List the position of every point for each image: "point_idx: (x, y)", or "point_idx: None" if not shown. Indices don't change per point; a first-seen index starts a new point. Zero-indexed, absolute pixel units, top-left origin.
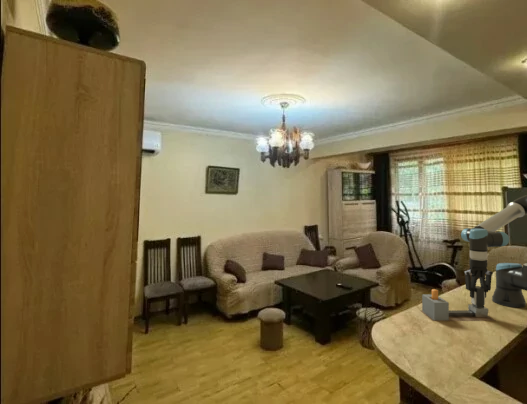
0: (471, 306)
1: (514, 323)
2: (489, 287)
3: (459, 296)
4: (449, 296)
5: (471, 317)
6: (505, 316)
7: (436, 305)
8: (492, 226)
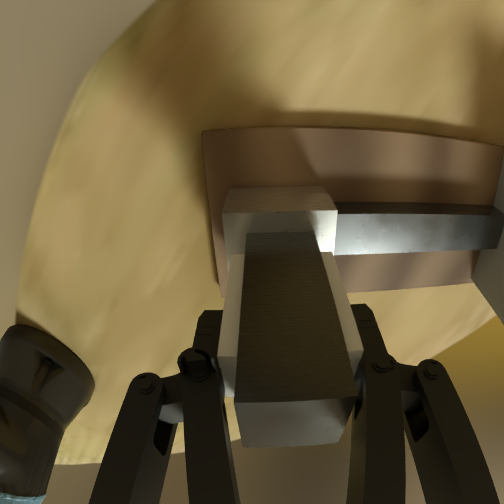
0: None
1: (94, 134)
2: (138, 411)
3: None
4: None
5: (351, 185)
6: (95, 236)
7: None
8: None
